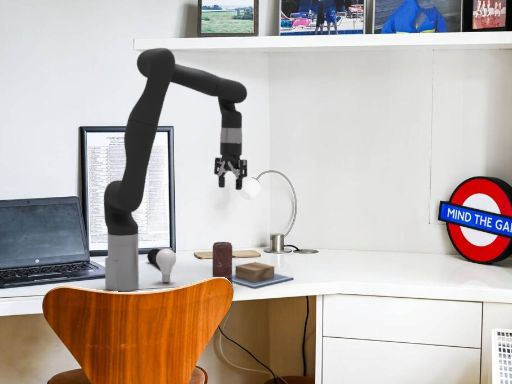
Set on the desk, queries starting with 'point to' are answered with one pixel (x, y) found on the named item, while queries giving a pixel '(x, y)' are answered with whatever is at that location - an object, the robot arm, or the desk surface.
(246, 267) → the plinth
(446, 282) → the desk surface
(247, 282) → the board
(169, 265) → the lightbulb
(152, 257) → the microphone
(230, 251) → the maroon rounded block
